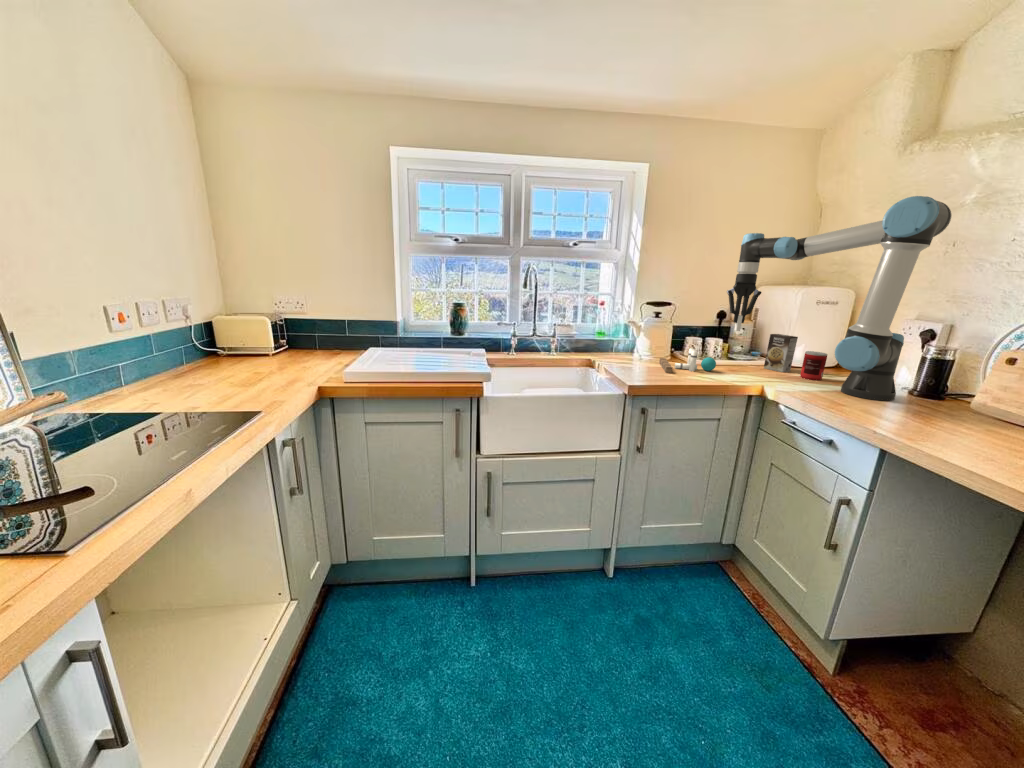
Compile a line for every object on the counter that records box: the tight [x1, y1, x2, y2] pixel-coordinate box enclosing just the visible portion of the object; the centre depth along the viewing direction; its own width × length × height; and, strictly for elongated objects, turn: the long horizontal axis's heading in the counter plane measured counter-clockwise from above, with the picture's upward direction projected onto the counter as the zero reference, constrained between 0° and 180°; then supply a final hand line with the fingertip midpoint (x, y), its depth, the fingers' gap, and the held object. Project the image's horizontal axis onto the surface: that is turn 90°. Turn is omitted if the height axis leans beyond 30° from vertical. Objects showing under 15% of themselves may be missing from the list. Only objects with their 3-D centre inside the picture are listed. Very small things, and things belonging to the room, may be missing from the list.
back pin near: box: [688, 349, 699, 372], centre depth 179 cm, size 2×2×9 cm
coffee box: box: [763, 333, 799, 373], centre depth 187 cm, size 9×6×16 cm
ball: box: [700, 357, 717, 372], centre depth 181 cm, size 6×6×6 cm
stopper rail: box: [658, 357, 673, 374], centre depth 184 cm, size 22×2×2 cm, turn 168°
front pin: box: [674, 362, 698, 371], centre depth 183 cm, size 2×2×9 cm
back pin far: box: [686, 347, 696, 364], centre depth 184 cm, size 2×2×9 cm
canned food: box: [799, 350, 828, 381], centre depth 172 cm, size 8×8×11 cm
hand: (737, 330), depth 175 cm, fingers closed
